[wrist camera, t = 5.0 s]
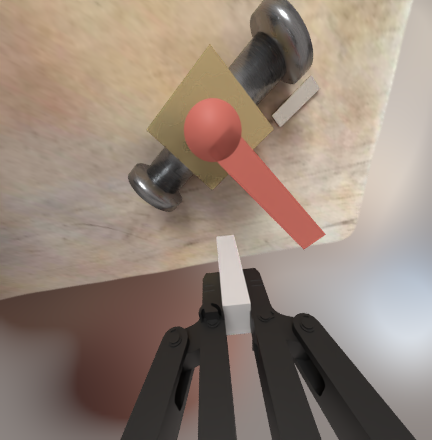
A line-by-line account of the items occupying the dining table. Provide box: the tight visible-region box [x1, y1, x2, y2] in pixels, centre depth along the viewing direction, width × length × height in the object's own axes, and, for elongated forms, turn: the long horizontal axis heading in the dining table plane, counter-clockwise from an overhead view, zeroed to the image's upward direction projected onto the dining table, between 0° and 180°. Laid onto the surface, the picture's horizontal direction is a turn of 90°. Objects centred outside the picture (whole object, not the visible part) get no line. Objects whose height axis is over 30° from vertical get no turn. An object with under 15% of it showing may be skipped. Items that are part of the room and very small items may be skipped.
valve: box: [128, 0, 320, 212], centre depth 17 cm, size 20×9×9 cm, turn 135°
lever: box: [184, 98, 326, 249], centre depth 14 cm, size 14×4×1 cm, turn 45°
